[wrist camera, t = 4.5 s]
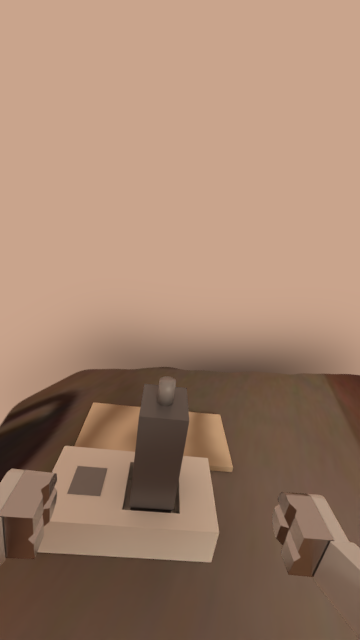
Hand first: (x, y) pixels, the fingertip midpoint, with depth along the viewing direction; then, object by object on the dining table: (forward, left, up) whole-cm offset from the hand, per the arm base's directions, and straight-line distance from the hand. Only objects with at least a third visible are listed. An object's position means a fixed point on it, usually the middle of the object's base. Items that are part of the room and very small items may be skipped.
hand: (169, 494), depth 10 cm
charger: (0, -13, -18) cm, 22 cm away
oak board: (0, -24, -19) cm, 31 cm away
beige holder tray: (+2, -13, -19) cm, 23 cm away
